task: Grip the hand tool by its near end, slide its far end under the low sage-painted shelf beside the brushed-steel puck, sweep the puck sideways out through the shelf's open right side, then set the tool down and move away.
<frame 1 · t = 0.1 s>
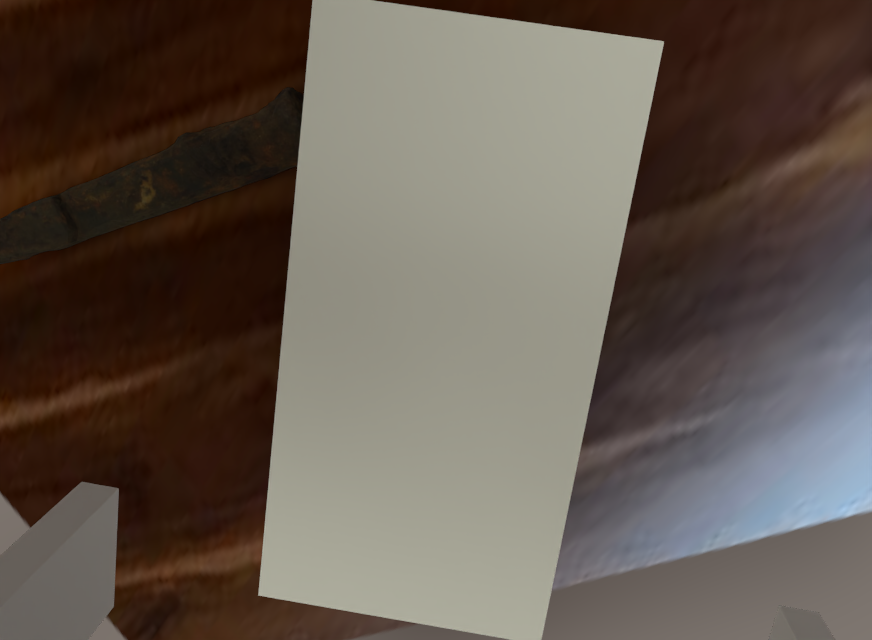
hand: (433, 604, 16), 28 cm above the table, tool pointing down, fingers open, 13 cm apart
hand tool: (167, 194, 44), on the table
low shelf: (457, 279, 43), on the table
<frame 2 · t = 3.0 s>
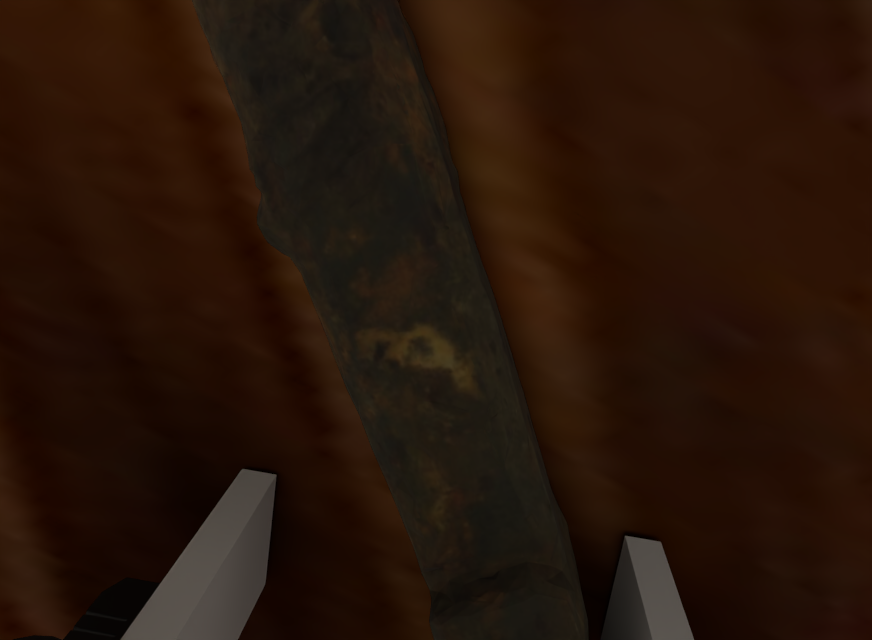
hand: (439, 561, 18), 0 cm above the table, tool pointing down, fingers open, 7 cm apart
hand tool: (466, 323, 17), on the table
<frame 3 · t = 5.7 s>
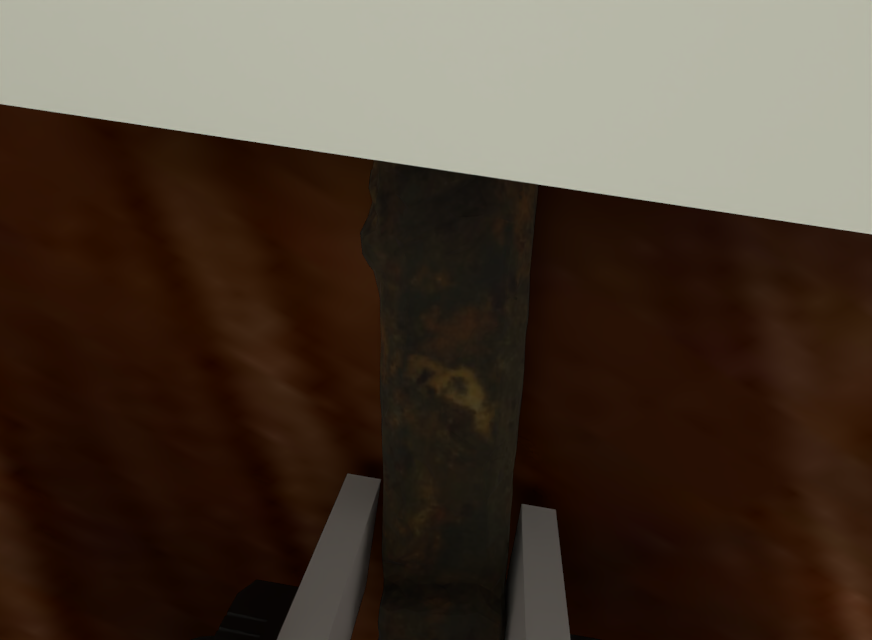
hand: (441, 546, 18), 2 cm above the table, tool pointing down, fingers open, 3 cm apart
hand tool: (480, 363, 19), on the table, touching gripper
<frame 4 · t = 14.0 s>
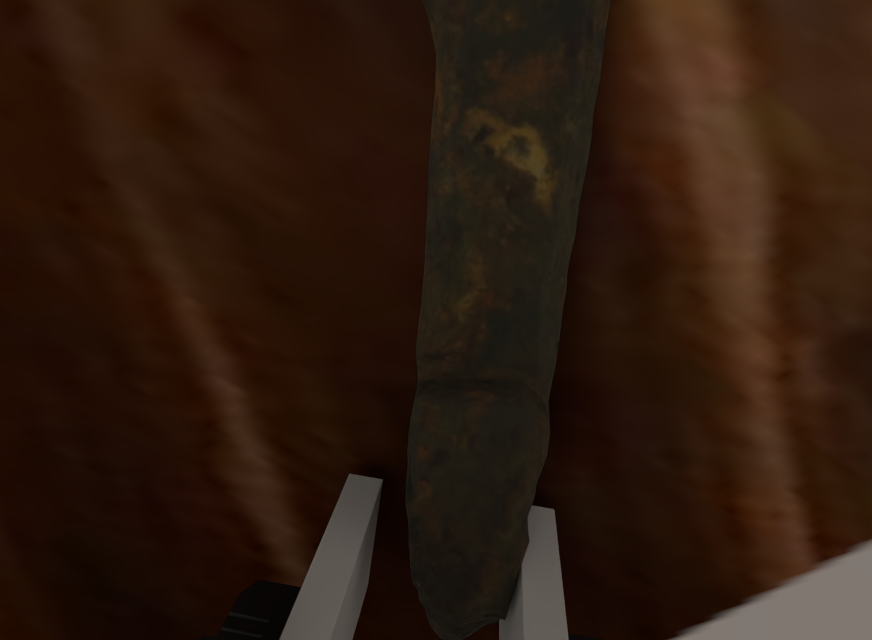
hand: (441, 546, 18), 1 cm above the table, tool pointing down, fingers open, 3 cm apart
hand tool: (528, 175, 17), on the table, touching gripper
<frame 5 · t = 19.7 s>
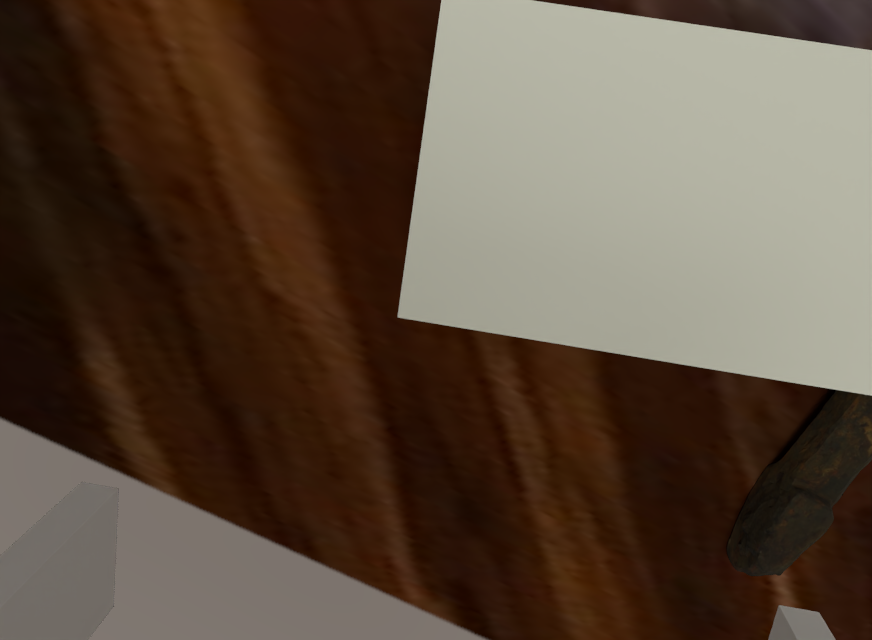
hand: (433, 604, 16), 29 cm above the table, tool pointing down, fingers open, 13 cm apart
hand tool: (838, 420, 44), on the table
low shelf: (677, 179, 41), on the table
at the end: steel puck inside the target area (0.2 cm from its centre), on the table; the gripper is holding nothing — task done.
